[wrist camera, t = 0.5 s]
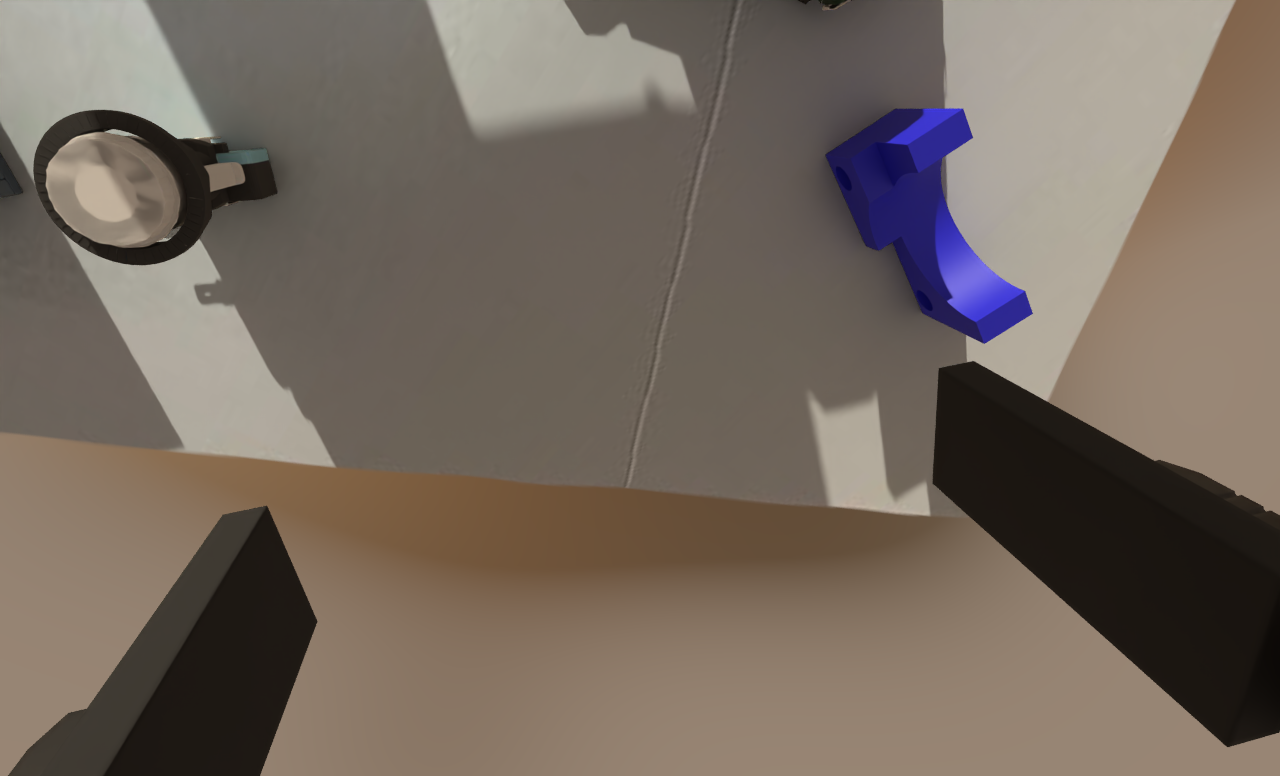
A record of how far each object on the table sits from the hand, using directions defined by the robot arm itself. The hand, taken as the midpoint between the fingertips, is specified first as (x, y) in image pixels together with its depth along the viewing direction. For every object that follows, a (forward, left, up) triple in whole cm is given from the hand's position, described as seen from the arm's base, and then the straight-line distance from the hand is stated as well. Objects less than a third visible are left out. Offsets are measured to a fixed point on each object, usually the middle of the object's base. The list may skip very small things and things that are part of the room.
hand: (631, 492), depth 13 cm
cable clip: (+4, +20, -26) cm, 33 cm away
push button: (-7, -15, -26) cm, 31 cm away
